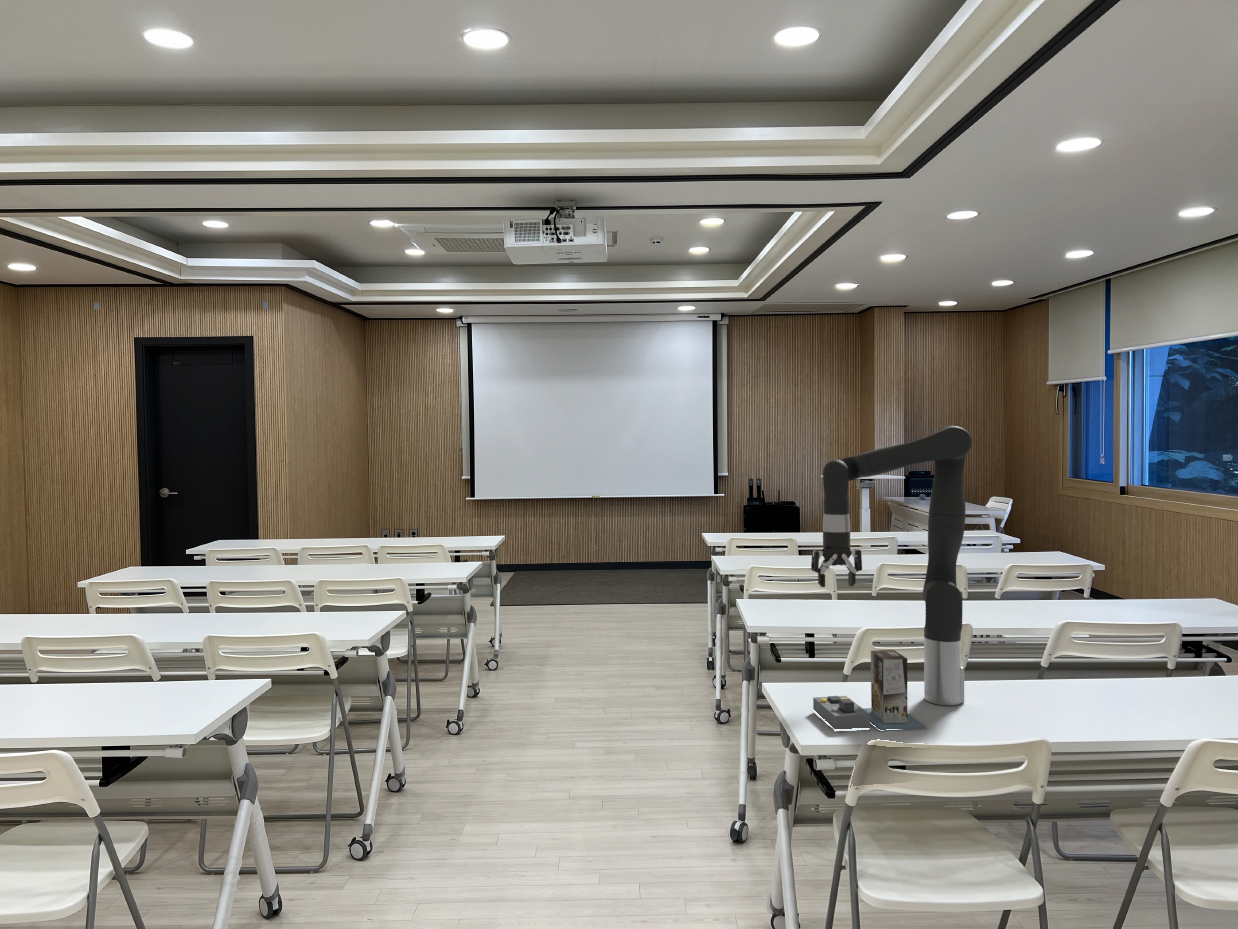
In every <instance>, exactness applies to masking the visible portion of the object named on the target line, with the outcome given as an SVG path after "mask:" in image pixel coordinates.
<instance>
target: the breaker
mask: <svg viewBox="0 0 1238 929" xmlns="http://www.w3.org/2000/svg"><path fill="white" fill-rule="evenodd" d="M850 699H851V698H849V697H848V699H839V710H840V711H841V712H842V713H854V700H852V699H851V700H850Z"/></svg>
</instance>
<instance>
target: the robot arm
mask: <svg viewBox="0 0 1238 929" xmlns="http://www.w3.org/2000/svg"><path fill="white" fill-rule="evenodd" d="M972 445H973V439H972V436H971V434H970V433H969V432H968V430H966V429H965V428H963V427H961V426H956V425H949V426H946V427H943V428H941V429H940V430H938V431H937V432H936V433H933V434H930V435H928V436H925V437H923V438H920V439H916V440H913V441H909V442H905V443H901V444H900V443H899V444H896V445H895V444H894V445H890V446H885V447H880V448H876V449H873V450H872V449H871V450H869V451H865V452H862V453H859V454H855V455H852V456H849V457H847V456H846V457H843V458H838V459H834V460H831V461H828V462H827V463H826V464H825V465H824V467H823V470H822V484H823V494H824V496H823V519H822V547H823V548H822V550H814V549H813V550H812V552H811V563H810V564H811V566H810V570H811V571H812V572H814V573H816V574H817V583H818V586H819V587H821V588H825V587H826V574H825V573H826V571H827V570H828V569H830V567H831V566H832V567H833V566H835V567H836V566H844V567H845V568H846V569H847V571H848V572H847V576H848V578H847V579H848V580H847V581H848V584H847V585H848V586H849V587H854V586H855V585H856V582H857V581H856V580H857V579H856V576H857V575H856V574H857V572H859V571H860V572H861V571H863V561H862V559H863V558H862V550H860V549H857V548H855V549H853V550H852V549H851V530H852V529H851V519H850V499H849V498H850V497H849V482H850V481H854V480H857V479H861V478H870V477H873V476H874V477H875V476H878V475H883V474H886V473H890V472H894V471H896V470H897V471H898V470H900V469H903V468H907V467H909V466H913V465H917V464H922V463H928V462H933V461H934V475H933V476H934V477H933V484H932V488H931V494H930V501H929V509H928V520H927V549H928V550H927V552H928V553H927V554H928V555H927V556H928V559H927V568H926V573H925V577H924V584H923V589H922V597H923V600H924V603H925V604H924V605H925V621H924V622H925V624H924V627H923V645H924V646H923V650H924V651H923V652H924V653H923V654H924V655H923V658H924V659H923V662H924V665H923V667H924V668H923V672H924V673H923V674H924V675H923V676H924V677H923V678H924V681H923V682H924V683H923V684H924V685H923V686H924V687H923V688H924V689H923V690H924V692H923V693H924V694H923V695H924V700H925V701H926V702H928V703H930V704H933V705H934V704H935V705H940V706H948V707H949V706H957V705H960V704H964V703H965V668H964V666H962V663H961V662H962V655H961V654H962V650H961V649H962V647H961V645H962V643H961V641H962V640H961V639H962V635H961V634H962V631H963V596H962V593H961V592H962V591H961V590H960V588H958V587H957V562H958V556H959V553H960V550H961V547H962V542H963V539H964V534H965V527H966V526H965V525H966V496H965V489H964V469H965V464H966V463H965V462H966V458H967V455H968V453H969V452H970V451H971V448H972V447H973V446H972ZM851 556H852V558H853V562H854V564H853V563H852V562H851V560H850V558H851ZM821 557H823V558H824V559H823V560H822V562H821V563H820V559H821Z"/></svg>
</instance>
